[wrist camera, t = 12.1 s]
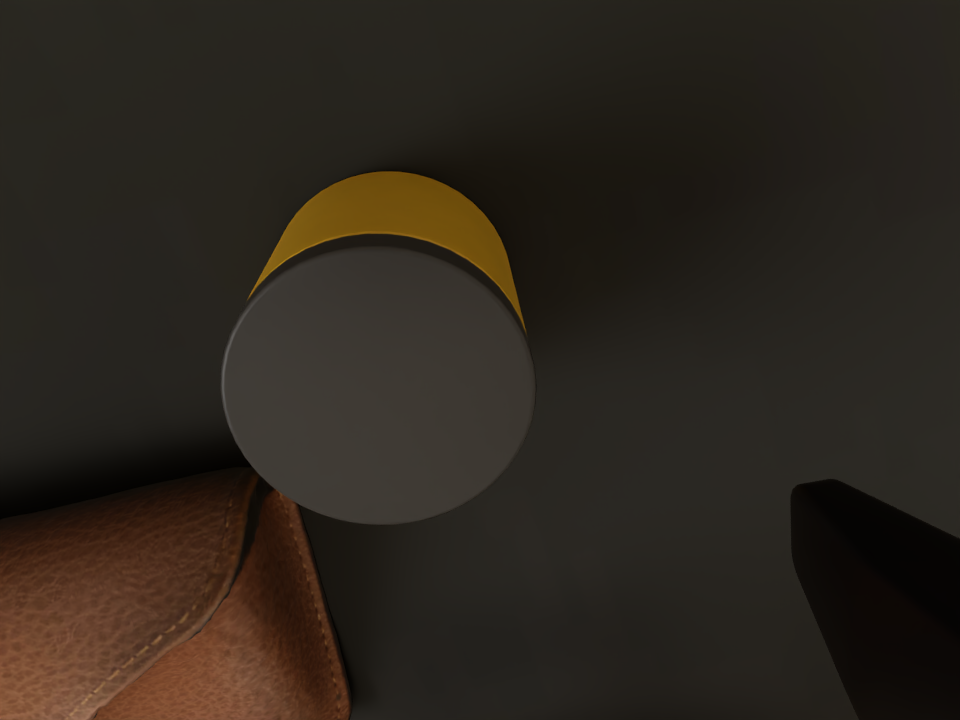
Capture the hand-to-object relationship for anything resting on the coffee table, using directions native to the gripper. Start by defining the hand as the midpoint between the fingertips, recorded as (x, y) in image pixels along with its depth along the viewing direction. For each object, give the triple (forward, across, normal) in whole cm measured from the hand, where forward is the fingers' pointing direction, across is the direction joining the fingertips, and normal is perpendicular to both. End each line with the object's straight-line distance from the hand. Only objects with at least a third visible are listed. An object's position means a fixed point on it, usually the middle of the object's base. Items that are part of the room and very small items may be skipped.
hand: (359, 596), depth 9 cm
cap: (+9, 0, 0) cm, 9 cm away
